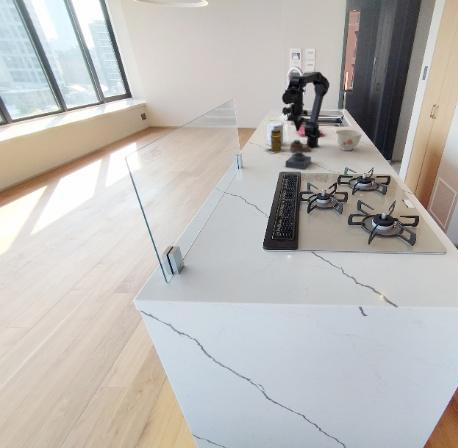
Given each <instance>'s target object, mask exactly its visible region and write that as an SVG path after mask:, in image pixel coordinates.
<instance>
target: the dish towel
mask: <svg viewBox="0 0 458 448" xmlns="http://www.w3.org/2000/svg"><path fill="white" fill-rule="evenodd" d="M304 127H305V125H301V127H300V129H299V131H297V132H298V135H299V136H300V137H306V136H305V131H304ZM319 131H320V133H321V136H320V137H324V132H322V131H321V130H320V129H319Z"/></svg>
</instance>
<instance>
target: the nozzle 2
mask: <svg viewBox="0 0 458 448" xmlns="http://www.w3.org/2000/svg"><path fill="white" fill-rule="evenodd" d="M294 154H295V156H296V157H301V156H302V154H303V152H301V151H296V152H295V153H294Z"/></svg>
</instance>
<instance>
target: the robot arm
mask: <svg viewBox="0 0 458 448" xmlns="http://www.w3.org/2000/svg"><path fill="white" fill-rule="evenodd" d="M310 83H312V85H313V90H314V95H315V96H314V100H313V103H312V107H311V113H310V117H309V119H308V120H306V121H305V124H304V126H305V127H304V131H305V136H304V137H307V138H306V144H307V145H308V146H309V147H310V149H314V148H320V145H319V139H320V138H321V137H322V136H321V133H320V131H321V130H320V125H319V117H320V113H321V109H322V104H323V100H324V97H325V96H326V95H327V94H328V91H329V88H330V86H331V85H330V82H329V80H328V78H327V77H326V76H324V75H323V73H322V72H320V71H312V72H309V73H307V74H304V75H291V78H290V80H289V83H288V85H287V87H286V89H285V90H284V93H283V94H282V96H281V100H282V103H283V104H285V105H290V106H288V107H287V106H285V107H282V110H281V113H282V114H283V116H286V115H287V117H286V121H287V122H293V123H294V126H295V130H296V132H298V131H299V129H300V127H301V126H302V124H303V122H304V120H305V117H307V116H308V115H309V114H308V112H309V111H308V110H307V109H304V106H305V103H304V93H305V92H306V90H305V89H304V88H305V87H306V86H307V85H308V84H310ZM304 116H305V117H304ZM319 130H320V131H319Z"/></svg>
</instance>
